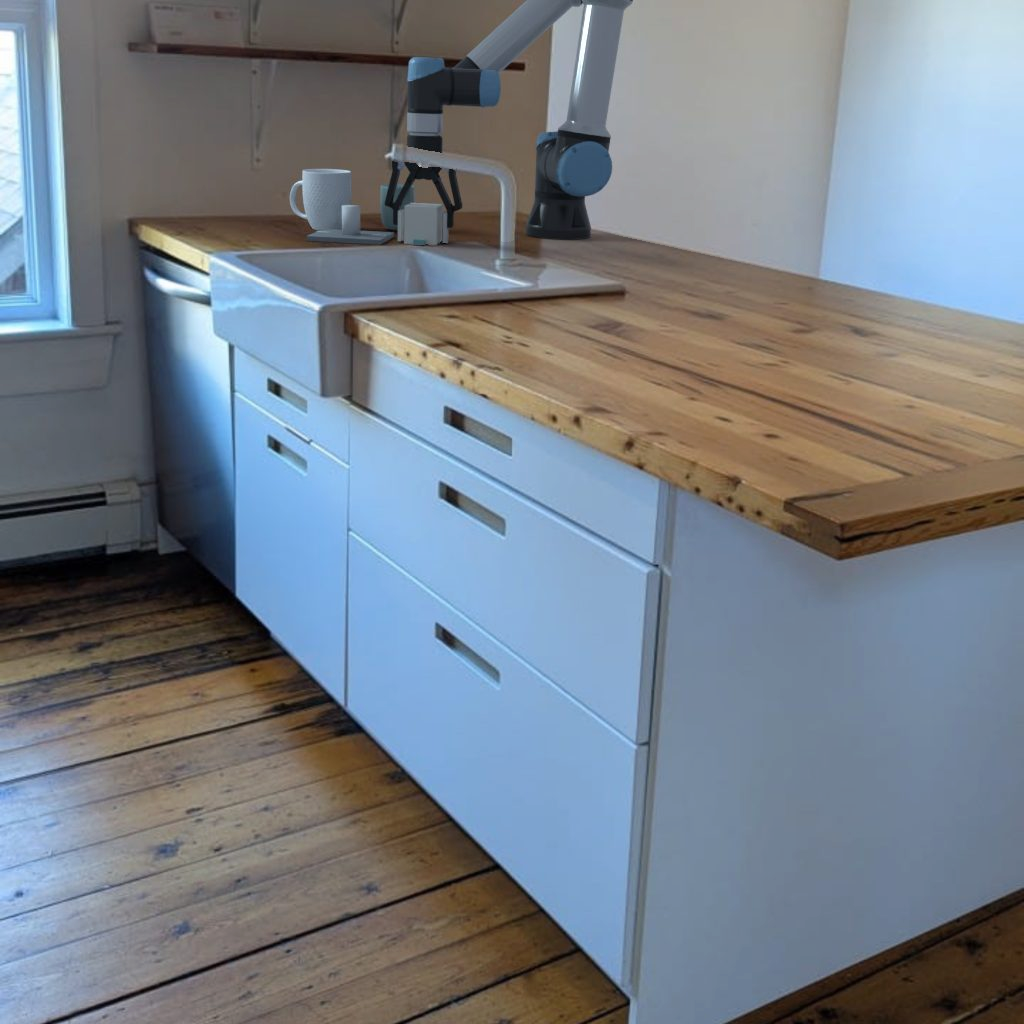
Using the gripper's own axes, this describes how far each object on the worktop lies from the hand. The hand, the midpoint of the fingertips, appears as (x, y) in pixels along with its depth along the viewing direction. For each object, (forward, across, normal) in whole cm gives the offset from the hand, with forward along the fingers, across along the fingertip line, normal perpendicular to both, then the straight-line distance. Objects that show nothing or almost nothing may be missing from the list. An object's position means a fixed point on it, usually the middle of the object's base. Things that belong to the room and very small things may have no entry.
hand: (423, 241), depth 285 cm
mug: (+1, +26, -14) cm, 29 cm away
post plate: (0, +16, 0) cm, 16 cm away
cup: (0, +10, -20) cm, 22 cm away
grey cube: (0, 0, 0) cm, 0 cm away
